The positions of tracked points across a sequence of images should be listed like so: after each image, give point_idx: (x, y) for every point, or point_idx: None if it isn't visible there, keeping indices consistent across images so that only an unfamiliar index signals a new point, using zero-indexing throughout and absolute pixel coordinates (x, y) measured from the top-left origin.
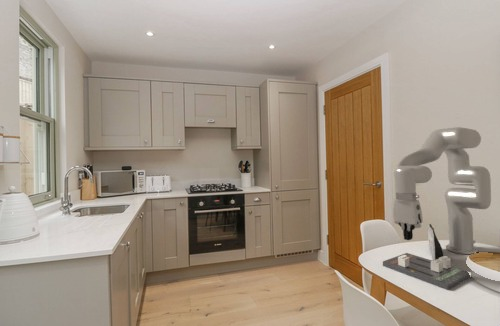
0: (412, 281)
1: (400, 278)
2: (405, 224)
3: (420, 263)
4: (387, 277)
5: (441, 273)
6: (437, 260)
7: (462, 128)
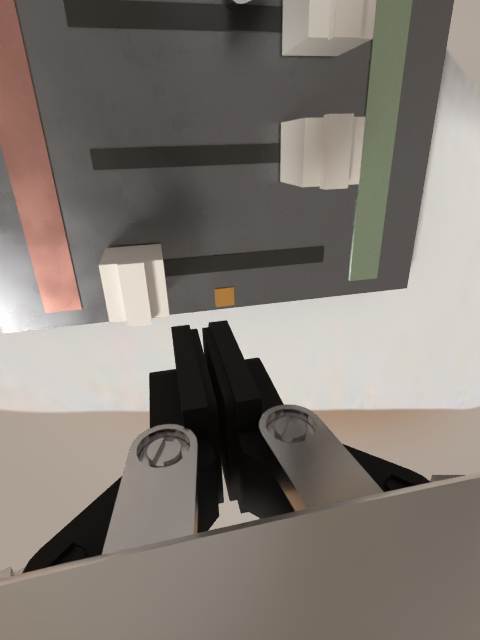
0: (255, 340)
1: None
2: (159, 539)
3: (166, 116)
4: None
5: None
6: (344, 148)
7: None
